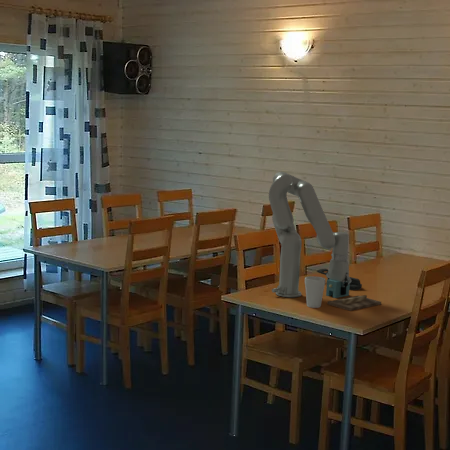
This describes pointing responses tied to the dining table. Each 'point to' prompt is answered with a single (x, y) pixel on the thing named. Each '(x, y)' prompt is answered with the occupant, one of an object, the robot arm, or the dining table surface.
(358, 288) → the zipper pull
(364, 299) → the board
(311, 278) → the foam cup
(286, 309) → the dining table surface
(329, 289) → the cabinet
